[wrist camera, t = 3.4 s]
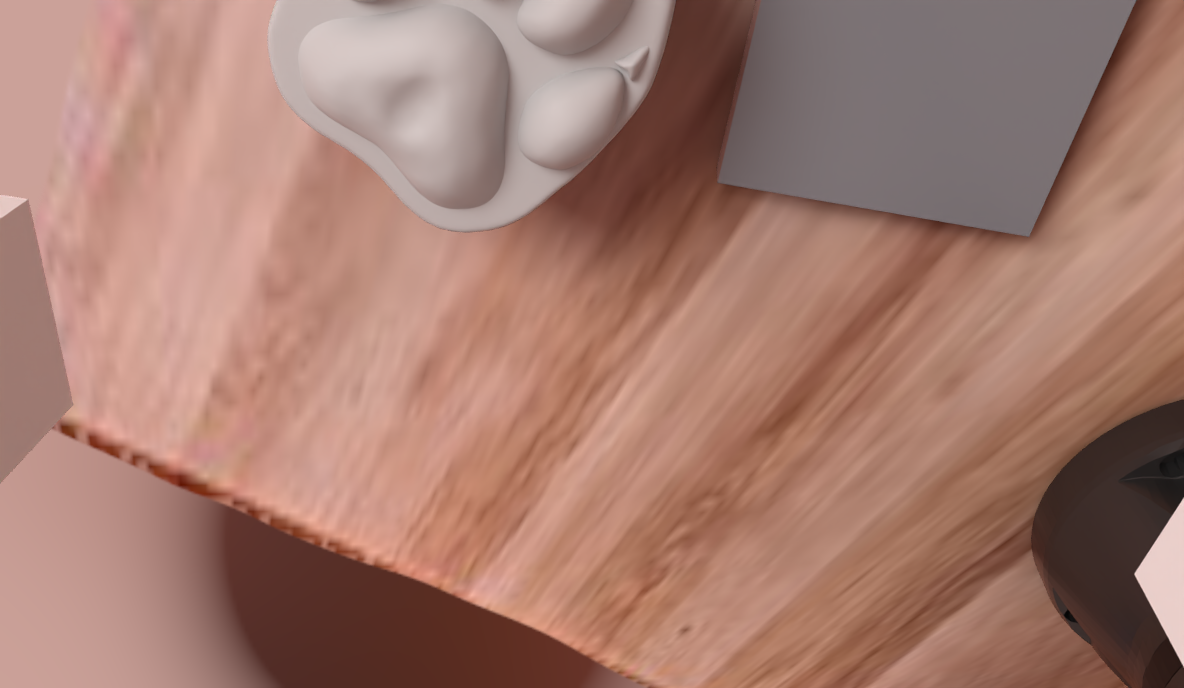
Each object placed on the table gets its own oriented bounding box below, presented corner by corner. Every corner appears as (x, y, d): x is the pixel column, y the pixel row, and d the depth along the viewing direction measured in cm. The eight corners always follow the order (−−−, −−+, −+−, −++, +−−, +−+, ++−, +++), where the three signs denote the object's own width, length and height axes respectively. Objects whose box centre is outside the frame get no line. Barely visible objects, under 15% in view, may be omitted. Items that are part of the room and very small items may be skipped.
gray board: (1017, 219, 37) (1029, 236, 35) (716, 167, 37) (717, 182, 35) (1195, -185, 29) (1218, -181, 28) (815, -252, 29) (821, -252, 28)
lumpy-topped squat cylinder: (302, 3, 35) (200, 72, 27) (530, -311, 29) (476, -328, 22) (514, 188, 38) (472, 293, 31) (756, -60, 32) (776, -2, 25)
